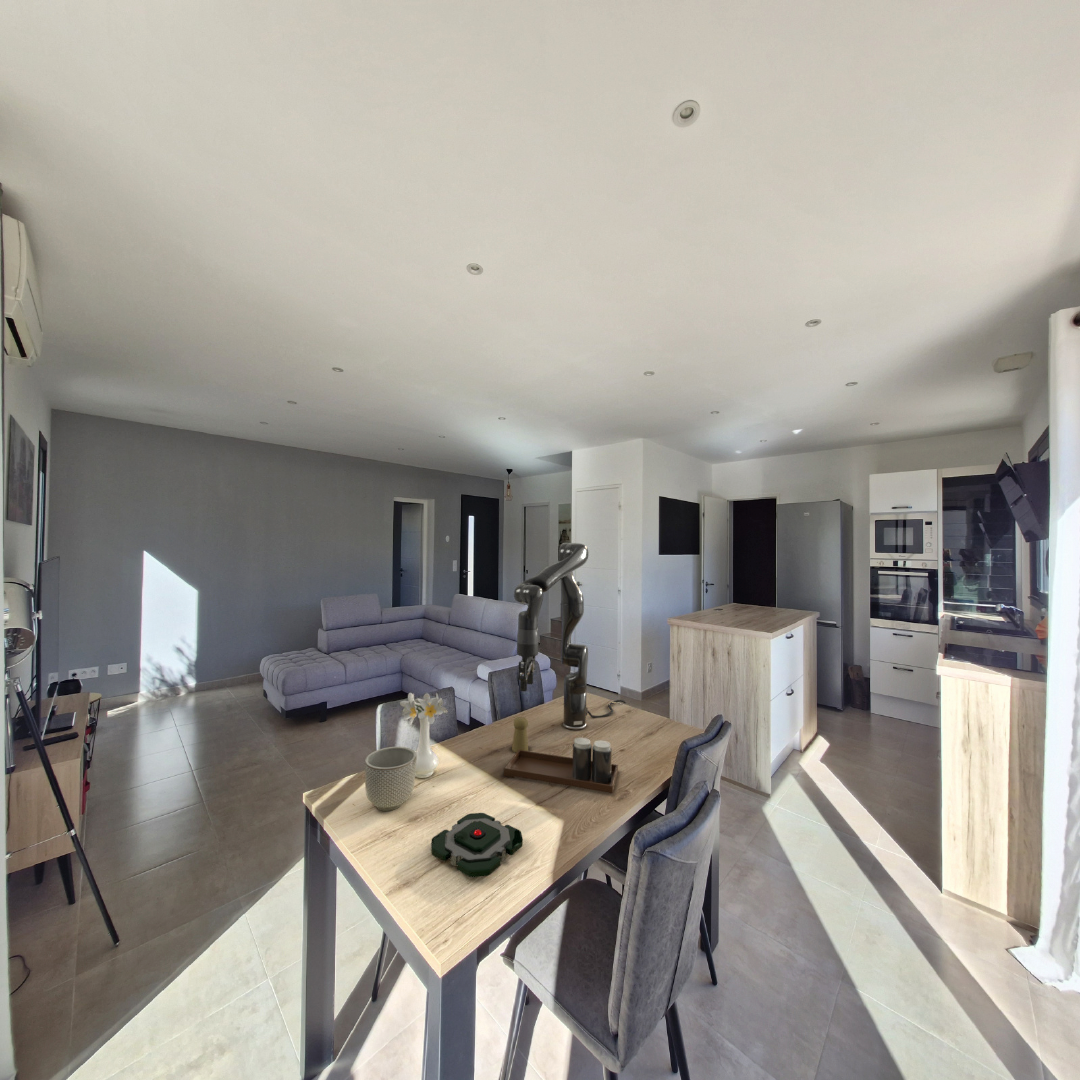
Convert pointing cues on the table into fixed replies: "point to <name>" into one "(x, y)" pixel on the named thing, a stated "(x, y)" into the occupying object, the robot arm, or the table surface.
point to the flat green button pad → (476, 844)
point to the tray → (553, 770)
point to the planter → (390, 776)
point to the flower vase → (424, 730)
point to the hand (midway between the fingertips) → (526, 687)
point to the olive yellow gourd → (520, 734)
